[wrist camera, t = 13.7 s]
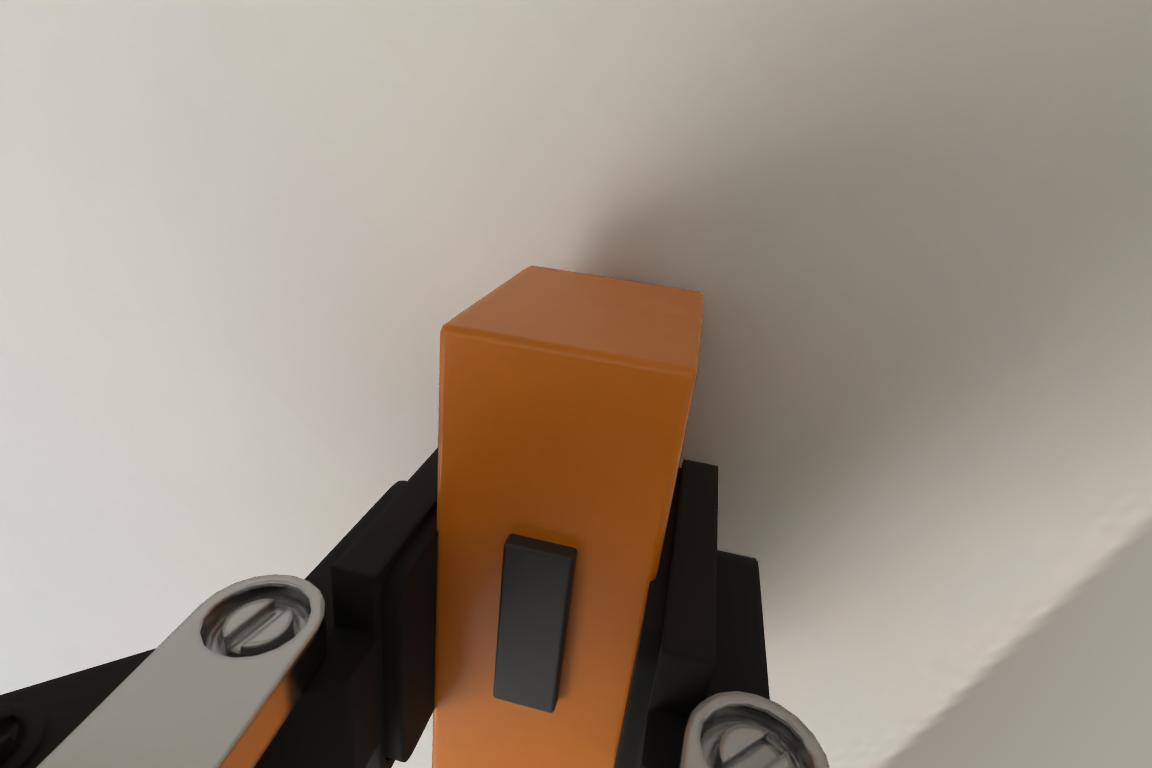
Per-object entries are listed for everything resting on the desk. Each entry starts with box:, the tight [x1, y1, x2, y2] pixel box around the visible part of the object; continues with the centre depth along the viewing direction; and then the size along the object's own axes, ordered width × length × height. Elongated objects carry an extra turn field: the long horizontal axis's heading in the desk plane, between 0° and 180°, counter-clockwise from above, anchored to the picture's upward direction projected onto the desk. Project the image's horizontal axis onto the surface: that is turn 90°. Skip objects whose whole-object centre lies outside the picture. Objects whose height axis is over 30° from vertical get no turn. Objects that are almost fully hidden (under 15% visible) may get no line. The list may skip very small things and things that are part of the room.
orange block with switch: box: [432, 266, 704, 768], centre depth 9 cm, size 9×3×3 cm, turn 174°
